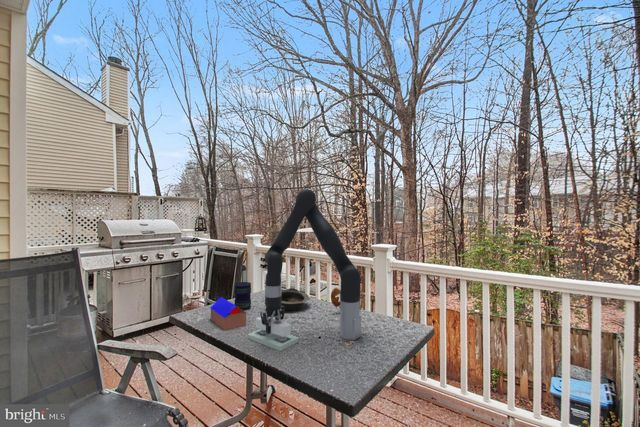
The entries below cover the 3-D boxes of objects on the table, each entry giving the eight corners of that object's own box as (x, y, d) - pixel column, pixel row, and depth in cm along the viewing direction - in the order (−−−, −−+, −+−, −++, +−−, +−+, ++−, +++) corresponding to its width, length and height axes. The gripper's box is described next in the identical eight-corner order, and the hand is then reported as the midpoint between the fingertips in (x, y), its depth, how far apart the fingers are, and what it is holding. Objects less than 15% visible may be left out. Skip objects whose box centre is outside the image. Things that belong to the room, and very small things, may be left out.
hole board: (298, 341, 143) (298, 337, 143) (280, 351, 134) (280, 346, 134) (266, 330, 156) (267, 326, 156) (247, 338, 147) (247, 334, 147)
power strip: (290, 339, 141) (291, 323, 141) (283, 343, 138) (283, 327, 137) (263, 330, 152) (263, 315, 152) (255, 333, 149) (255, 318, 148)
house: (224, 331, 156) (224, 307, 155) (209, 320, 171) (210, 298, 171) (246, 325, 163) (247, 303, 163) (231, 315, 179) (231, 294, 178)
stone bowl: (271, 300, 207) (272, 286, 207) (309, 303, 207) (310, 289, 207) (264, 312, 182) (266, 296, 182) (307, 316, 182) (309, 300, 182)
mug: (355, 312, 186) (356, 286, 185) (356, 316, 177) (356, 290, 177) (331, 311, 187) (331, 285, 187) (330, 315, 179) (330, 289, 179)
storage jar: (234, 306, 194) (234, 282, 194) (250, 305, 197) (250, 281, 197) (234, 311, 185) (234, 286, 184) (251, 310, 188) (251, 285, 187)
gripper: (267, 299, 137) (267, 338, 137) (290, 292, 148) (289, 328, 148) (255, 296, 141) (255, 334, 142) (278, 290, 153) (278, 325, 153)
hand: (273, 331), depth 145 cm, fingers closed on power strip, 5 cm apart
